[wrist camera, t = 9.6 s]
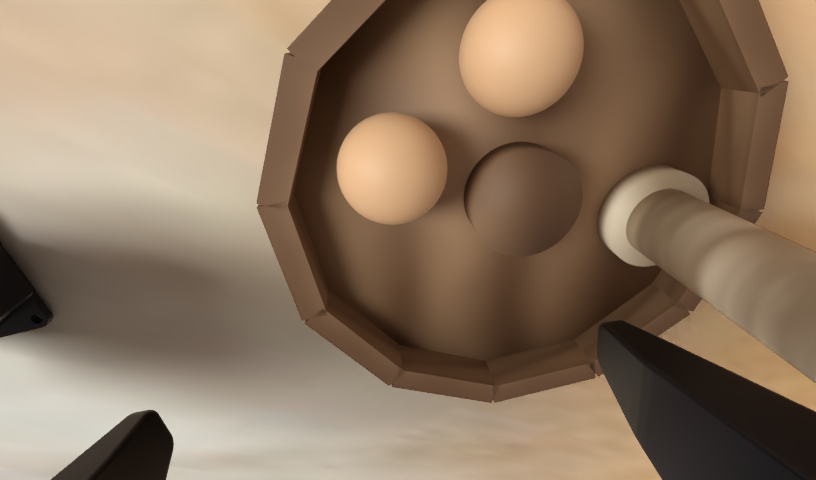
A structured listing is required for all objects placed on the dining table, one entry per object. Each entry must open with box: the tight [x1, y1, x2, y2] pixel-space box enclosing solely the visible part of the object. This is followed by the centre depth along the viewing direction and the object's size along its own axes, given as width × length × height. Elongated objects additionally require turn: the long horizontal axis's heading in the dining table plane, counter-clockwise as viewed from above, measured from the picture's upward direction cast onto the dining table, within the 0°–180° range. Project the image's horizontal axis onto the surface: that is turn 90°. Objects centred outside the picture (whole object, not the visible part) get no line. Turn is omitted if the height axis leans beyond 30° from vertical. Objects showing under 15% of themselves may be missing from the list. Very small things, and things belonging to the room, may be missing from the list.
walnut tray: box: [257, 0, 788, 403], centre depth 20 cm, size 22×22×3 cm
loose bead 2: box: [459, 0, 584, 117], centre depth 15 cm, size 4×4×4 cm
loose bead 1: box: [337, 112, 448, 225], centre depth 17 cm, size 4×4×4 cm
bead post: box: [597, 165, 816, 383], centre depth 15 cm, size 5×5×15 cm
